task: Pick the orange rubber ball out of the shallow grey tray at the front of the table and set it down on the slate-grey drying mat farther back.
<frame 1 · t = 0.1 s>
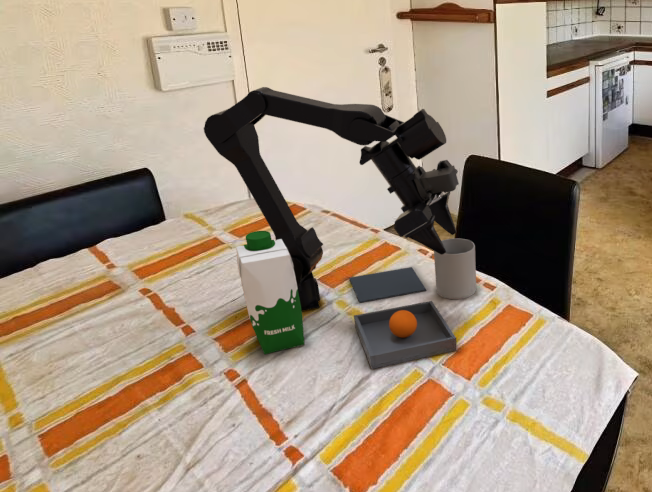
hand: (449, 243, 116), 15 cm above the table, tool tilted 30°, fingers open, 9 cm apart
shallow grey tray: (404, 338, 114), on the table
drying mat: (387, 284, 134), on the table
milk carton: (281, 341, 114), on the table
cup: (456, 290, 132), on the table
ball: (403, 323, 113), point 3 cm above the table, touching shallow grey tray
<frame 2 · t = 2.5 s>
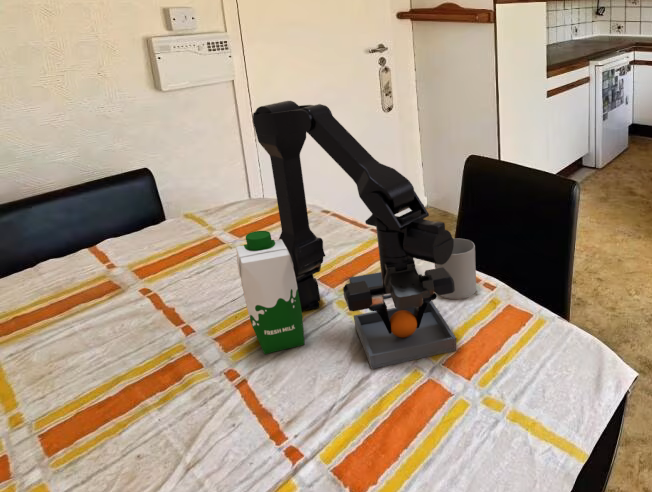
hand: (403, 329, 114), 2 cm above the table, tool pointing down, fingers closed on ball, 5 cm apart
ball: (403, 323, 113), point 3 cm above the table, touching shallow grey tray, gripper
everything else where it was.
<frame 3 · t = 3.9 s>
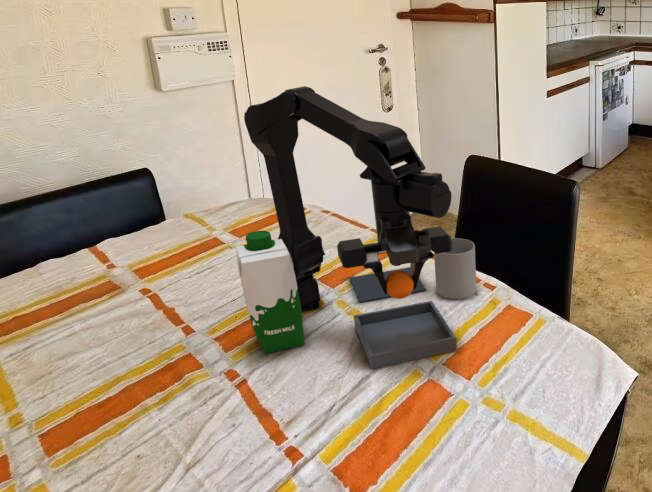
hand: (399, 290, 110), 10 cm above the table, tool pointing down, fingers closed on ball, 5 cm apart
ball: (399, 284, 110), point 11 cm above the table, touching gripper
everything else where it was.
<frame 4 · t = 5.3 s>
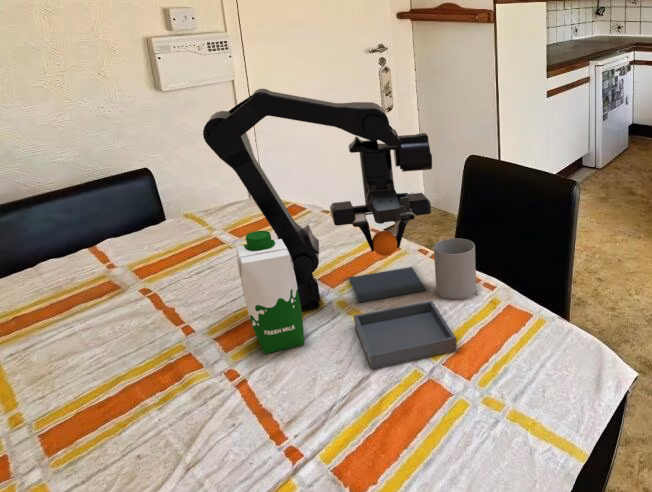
hand: (385, 249, 125), 10 cm above the table, tool pointing down, fingers closed on ball, 5 cm apart
ball: (384, 243, 125), point 11 cm above the table, touching gripper
everything else where it was.
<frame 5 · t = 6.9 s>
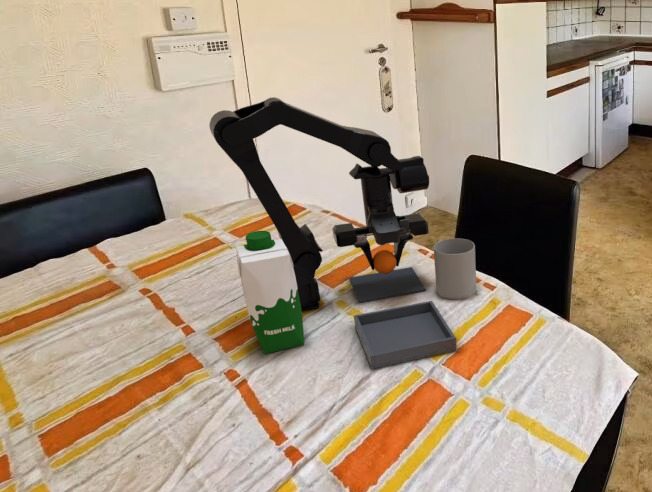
hand: (385, 267, 132), 4 cm above the table, tool pointing down, fingers closed on ball, 5 cm apart
ball: (384, 261, 131), point 5 cm above the table, touching gripper
everything else where it was.
when the fingers open (2 cm above the table, at t = 8.0 s): ball stays where it is, resting on drying mat.
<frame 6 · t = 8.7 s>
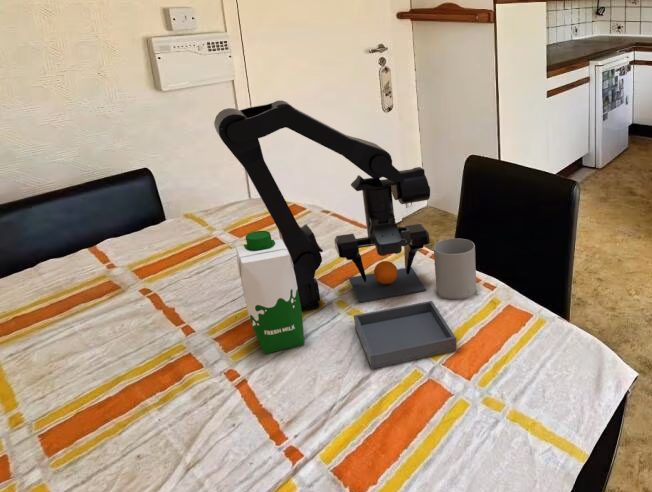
hand: (386, 277, 133), 2 cm above the table, tool pointing down, fingers open, 9 cm apart
ball: (385, 272, 132), point 3 cm above the table, touching drying mat
everything else where it was.
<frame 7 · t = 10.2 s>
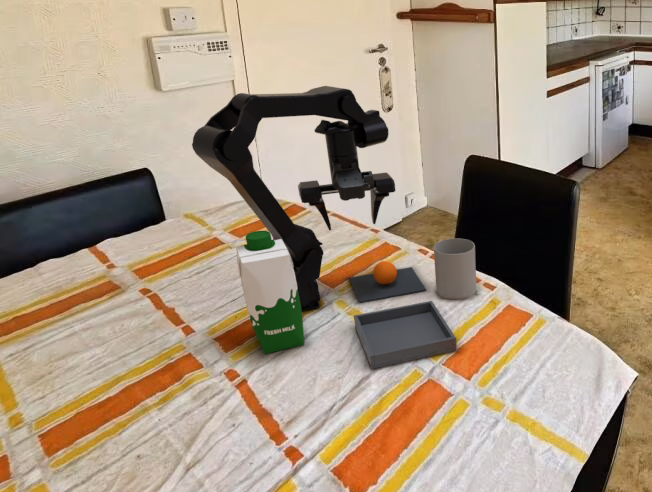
hand: (352, 226, 131), 12 cm above the table, tool pointing down, fingers open, 9 cm apart
nothing on the table moved.
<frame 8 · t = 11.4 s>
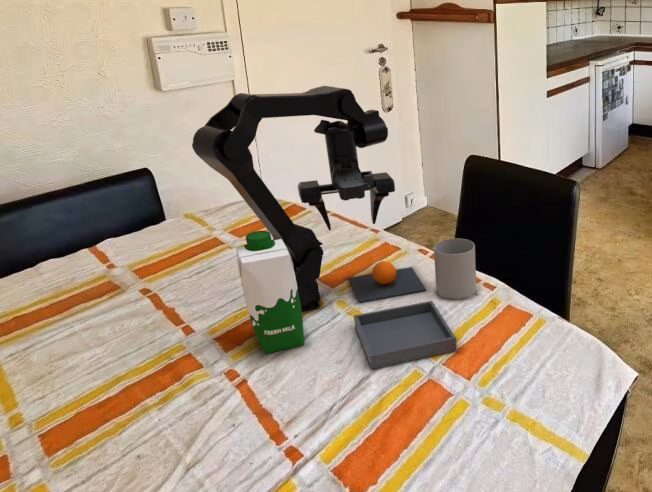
hand: (352, 226, 131), 12 cm above the table, tool pointing down, fingers open, 9 cm apart
nothing on the table moved.
at the end: ball inside the target area on the drying mat (0.3 cm from its centre), point 2.9 cm above the drying mat's base; ball touching drying mat; the gripper is holding nothing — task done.
